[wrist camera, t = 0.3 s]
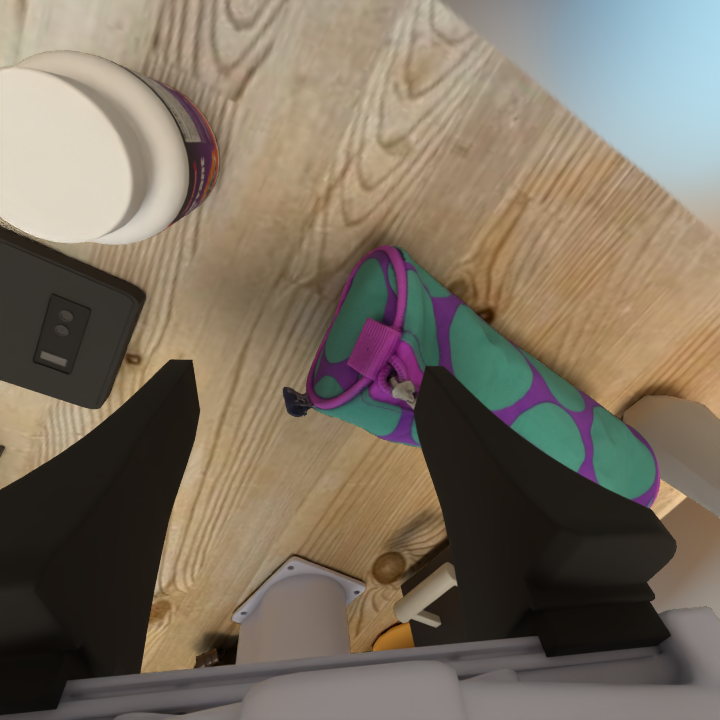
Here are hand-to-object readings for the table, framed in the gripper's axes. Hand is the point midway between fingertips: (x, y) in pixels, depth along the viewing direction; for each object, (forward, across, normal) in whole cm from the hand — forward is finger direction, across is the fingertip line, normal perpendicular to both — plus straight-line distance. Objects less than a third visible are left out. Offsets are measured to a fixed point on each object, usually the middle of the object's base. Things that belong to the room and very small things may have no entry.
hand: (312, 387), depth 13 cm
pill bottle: (+12, +7, -4) cm, 14 cm away
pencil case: (+10, -10, +7) cm, 16 cm away
